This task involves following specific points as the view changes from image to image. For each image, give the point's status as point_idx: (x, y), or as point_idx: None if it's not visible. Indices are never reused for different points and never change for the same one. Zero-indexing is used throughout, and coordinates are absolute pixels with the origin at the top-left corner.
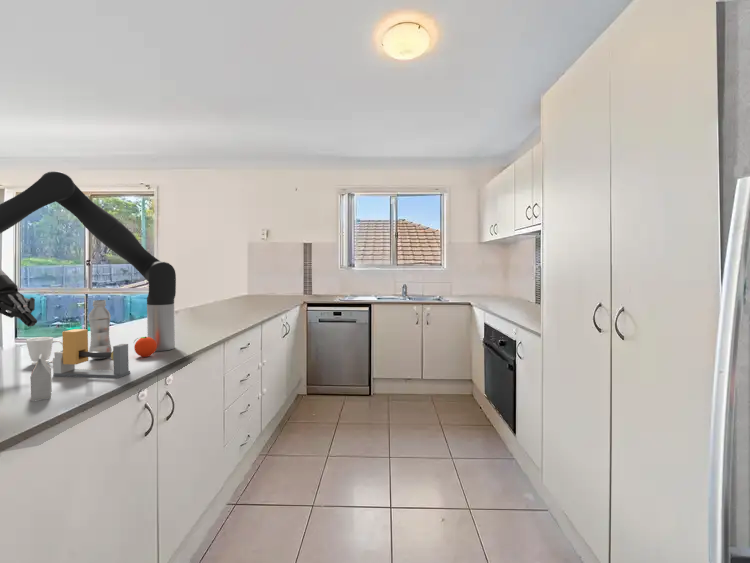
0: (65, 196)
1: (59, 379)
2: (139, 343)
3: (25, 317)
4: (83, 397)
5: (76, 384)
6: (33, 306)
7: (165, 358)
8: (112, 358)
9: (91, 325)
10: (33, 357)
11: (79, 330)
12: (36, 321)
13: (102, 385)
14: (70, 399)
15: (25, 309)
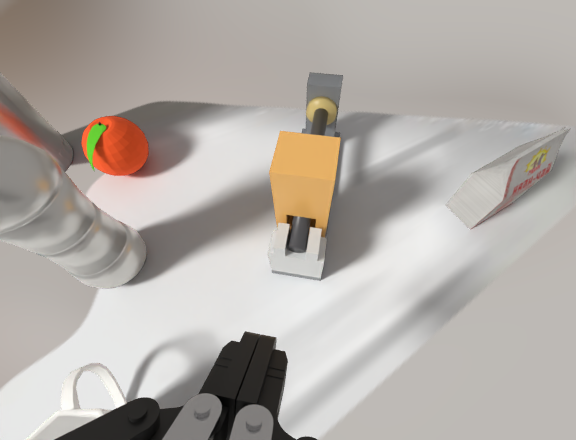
0: None
1: (353, 244)
2: (131, 140)
3: (275, 386)
4: (467, 134)
5: (391, 186)
6: (92, 429)
7: (168, 121)
8: (335, 117)
9: (61, 222)
10: None
11: (305, 142)
12: (249, 332)
13: (392, 140)
14: (483, 147)
15: (210, 431)
